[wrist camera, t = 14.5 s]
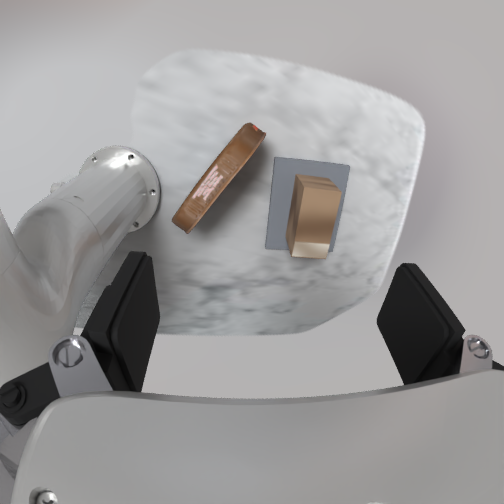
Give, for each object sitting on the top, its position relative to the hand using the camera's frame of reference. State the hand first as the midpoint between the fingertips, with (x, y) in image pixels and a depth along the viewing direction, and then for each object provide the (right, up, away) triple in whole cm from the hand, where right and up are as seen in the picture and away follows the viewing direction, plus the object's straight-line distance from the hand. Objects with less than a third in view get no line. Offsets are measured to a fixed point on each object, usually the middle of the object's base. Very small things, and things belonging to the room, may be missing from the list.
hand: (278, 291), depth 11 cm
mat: (+6, +8, +29) cm, 30 cm away
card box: (+6, +7, +28) cm, 30 cm away
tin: (-5, +12, +26) cm, 29 cm away
